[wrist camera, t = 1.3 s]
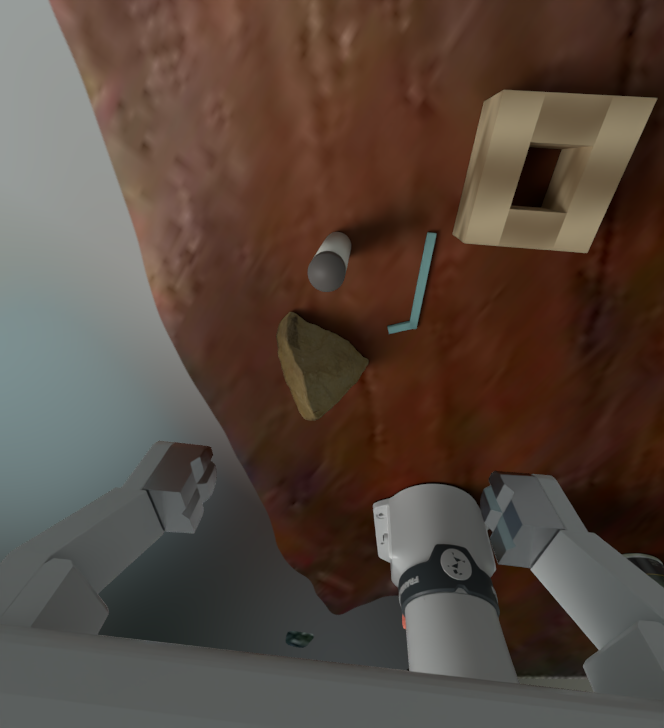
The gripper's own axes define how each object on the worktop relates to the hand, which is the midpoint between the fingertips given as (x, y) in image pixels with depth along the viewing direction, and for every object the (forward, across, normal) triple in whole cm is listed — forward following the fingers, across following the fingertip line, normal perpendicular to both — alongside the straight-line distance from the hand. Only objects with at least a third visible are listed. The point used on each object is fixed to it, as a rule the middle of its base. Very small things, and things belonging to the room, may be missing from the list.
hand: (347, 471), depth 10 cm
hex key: (+27, -6, +3) cm, 28 cm away
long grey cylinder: (+28, +2, 0) cm, 28 cm away
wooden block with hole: (+27, -14, -7) cm, 32 cm away
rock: (+28, +3, +11) cm, 30 cm away
